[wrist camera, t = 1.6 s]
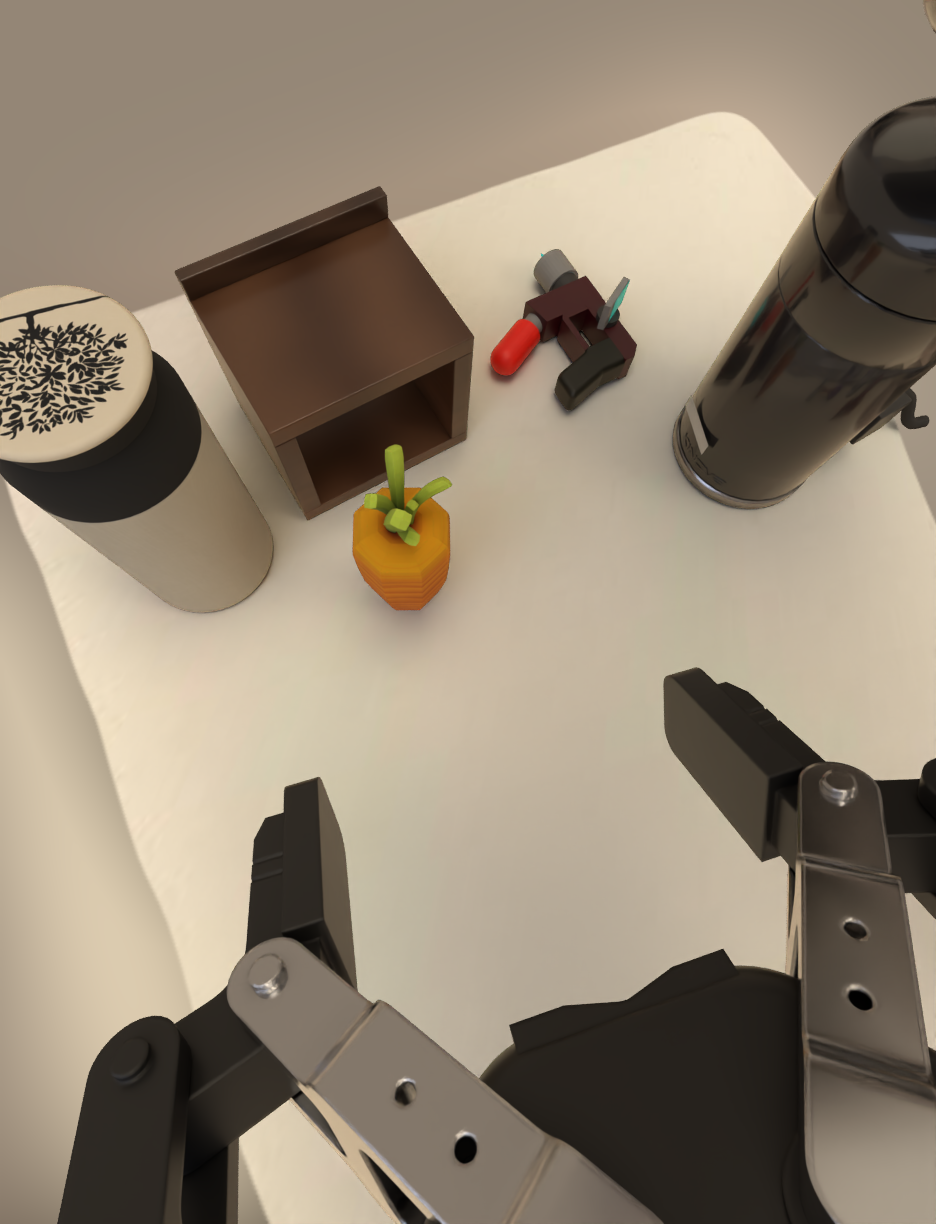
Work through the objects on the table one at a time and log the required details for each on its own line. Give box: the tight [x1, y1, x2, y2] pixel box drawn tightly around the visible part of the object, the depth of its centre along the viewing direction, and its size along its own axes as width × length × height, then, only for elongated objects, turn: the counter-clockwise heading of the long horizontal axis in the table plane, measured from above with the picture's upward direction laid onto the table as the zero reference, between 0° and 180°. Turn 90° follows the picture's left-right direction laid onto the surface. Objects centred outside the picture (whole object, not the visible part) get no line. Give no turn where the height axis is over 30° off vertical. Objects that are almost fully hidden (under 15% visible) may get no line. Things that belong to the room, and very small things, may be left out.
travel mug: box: [0, 285, 273, 612], centre depth 32 cm, size 8×8×18 cm
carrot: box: [353, 444, 452, 610], centre depth 33 cm, size 5×5×15 cm
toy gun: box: [491, 249, 637, 411], centre depth 44 cm, size 10×12×5 cm
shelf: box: [175, 187, 474, 520], centre depth 38 cm, size 12×10×11 cm
